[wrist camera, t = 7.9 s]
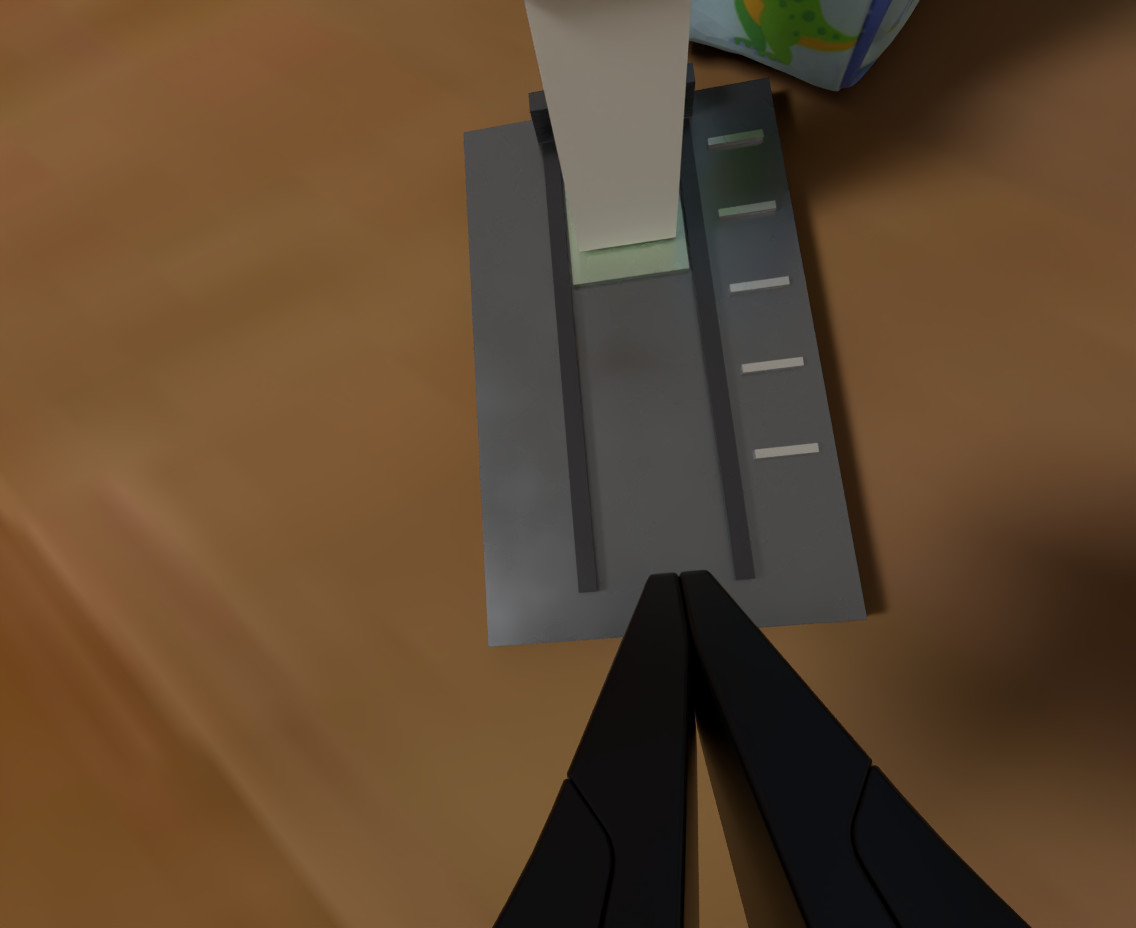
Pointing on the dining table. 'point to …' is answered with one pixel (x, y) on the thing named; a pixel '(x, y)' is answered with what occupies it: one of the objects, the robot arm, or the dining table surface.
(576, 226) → the fader knob
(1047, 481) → the dining table surface
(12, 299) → the dining table surface
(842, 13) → the lunch box
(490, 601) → the plate
